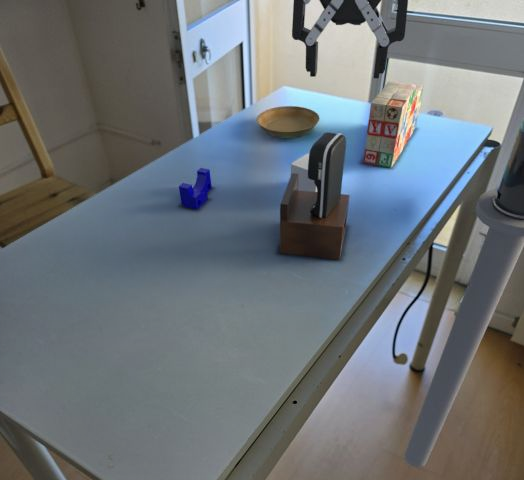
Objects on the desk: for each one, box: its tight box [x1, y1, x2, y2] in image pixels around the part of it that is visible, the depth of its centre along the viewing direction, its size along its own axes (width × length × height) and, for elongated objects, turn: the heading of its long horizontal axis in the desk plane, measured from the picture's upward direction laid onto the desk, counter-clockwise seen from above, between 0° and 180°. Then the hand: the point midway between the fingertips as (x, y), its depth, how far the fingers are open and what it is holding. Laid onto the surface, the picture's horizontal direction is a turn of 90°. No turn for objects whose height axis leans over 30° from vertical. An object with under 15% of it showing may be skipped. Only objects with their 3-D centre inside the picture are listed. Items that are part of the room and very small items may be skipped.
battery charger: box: [308, 131, 347, 218], centre depth 73 cm, size 7×4×11 cm, turn 153°
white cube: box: [289, 151, 317, 192], centre depth 91 cm, size 6×6×6 cm
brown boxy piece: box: [279, 173, 350, 260], centre depth 79 cm, size 10×10×9 cm
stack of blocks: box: [362, 81, 424, 169], centre depth 101 cm, size 21×6×12 cm, turn 154°
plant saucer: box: [256, 105, 321, 139], centre depth 112 cm, size 15×15×3 cm
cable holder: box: [178, 167, 213, 211], centre depth 91 cm, size 8×4×4 cm, turn 154°
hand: (344, 75), depth 65 cm, fingers open, 8 cm apart
